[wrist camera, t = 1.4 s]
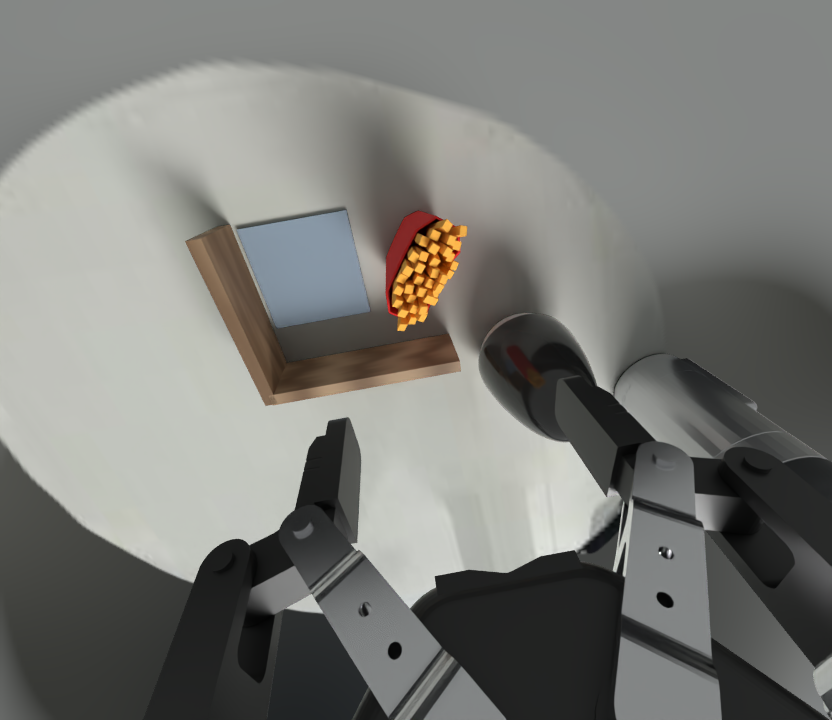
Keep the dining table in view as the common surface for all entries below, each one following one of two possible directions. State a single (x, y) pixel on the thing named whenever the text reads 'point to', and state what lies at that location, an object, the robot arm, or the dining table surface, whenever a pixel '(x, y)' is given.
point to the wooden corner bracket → (309, 376)
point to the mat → (307, 268)
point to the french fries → (420, 265)
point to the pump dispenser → (531, 368)
